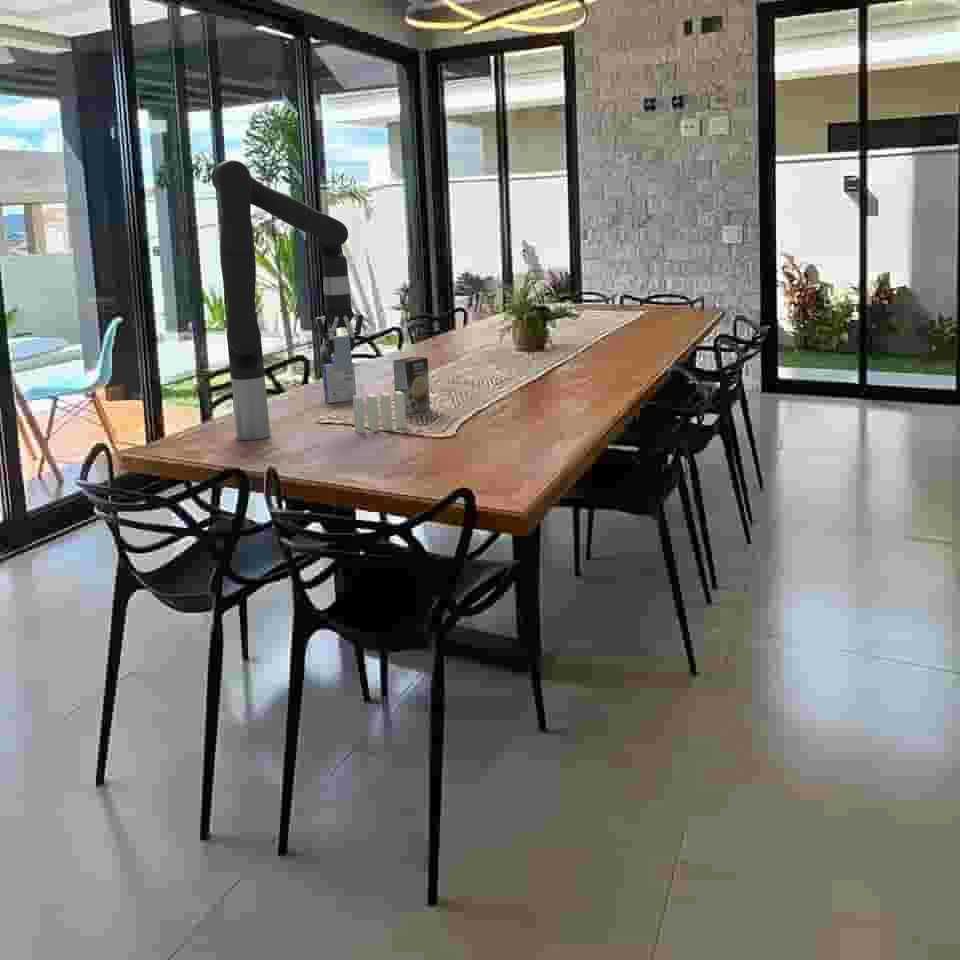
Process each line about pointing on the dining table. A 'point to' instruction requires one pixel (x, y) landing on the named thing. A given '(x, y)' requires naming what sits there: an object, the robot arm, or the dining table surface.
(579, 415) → the dining table surface
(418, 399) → the coffee box
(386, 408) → the domino
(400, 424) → the domino
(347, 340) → the end domino
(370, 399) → the domino
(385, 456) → the dining table surface
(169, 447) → the dining table surface
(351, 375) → the ink cartridge box
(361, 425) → the domino
